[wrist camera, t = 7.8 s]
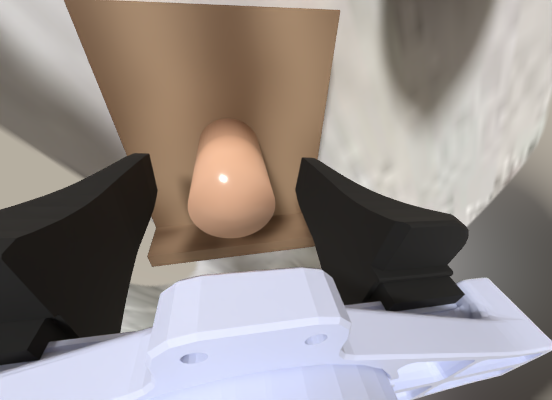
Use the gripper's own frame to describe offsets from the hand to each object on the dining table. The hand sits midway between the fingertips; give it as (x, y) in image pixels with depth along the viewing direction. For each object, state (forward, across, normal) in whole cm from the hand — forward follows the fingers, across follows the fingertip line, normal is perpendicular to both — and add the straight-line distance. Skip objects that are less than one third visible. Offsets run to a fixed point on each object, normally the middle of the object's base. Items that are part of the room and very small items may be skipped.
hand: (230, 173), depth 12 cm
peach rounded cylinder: (+3, 0, 0) cm, 3 cm away
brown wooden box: (+5, 0, 0) cm, 5 cm away
